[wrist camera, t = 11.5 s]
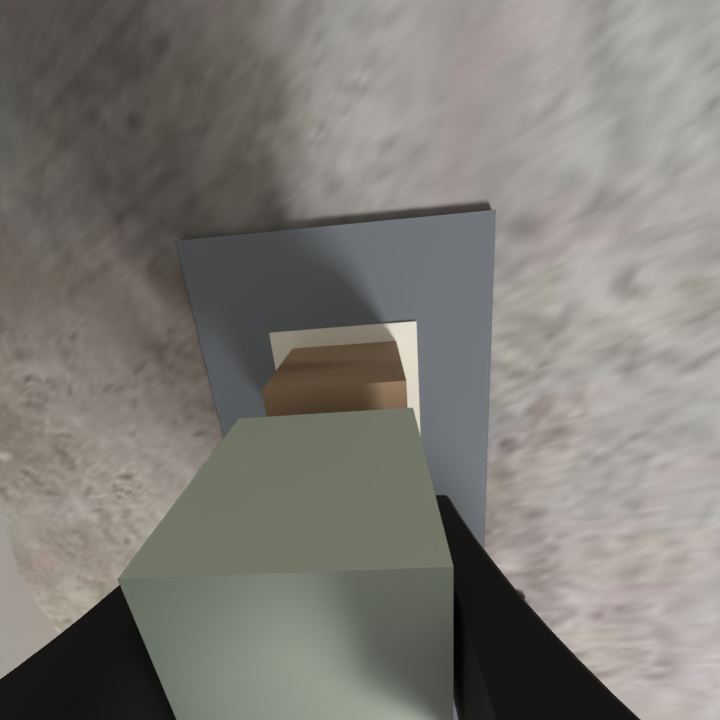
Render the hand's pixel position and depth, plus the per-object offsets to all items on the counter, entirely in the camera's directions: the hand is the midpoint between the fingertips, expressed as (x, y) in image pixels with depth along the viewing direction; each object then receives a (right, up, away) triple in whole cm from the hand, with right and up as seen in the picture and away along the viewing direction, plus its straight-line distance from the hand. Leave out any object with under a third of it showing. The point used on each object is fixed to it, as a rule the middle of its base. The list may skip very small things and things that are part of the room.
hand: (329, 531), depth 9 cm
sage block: (0, +1, +1) cm, 2 cm away
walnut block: (0, +3, +8) cm, 9 cm away
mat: (0, +1, +9) cm, 9 cm away
